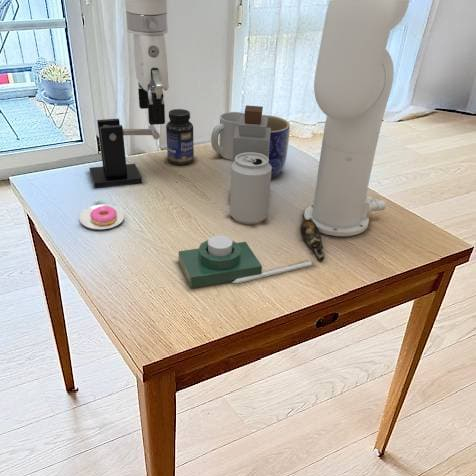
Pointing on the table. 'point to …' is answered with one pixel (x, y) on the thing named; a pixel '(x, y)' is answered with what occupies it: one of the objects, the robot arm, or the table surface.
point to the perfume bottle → (252, 133)
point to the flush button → (220, 246)
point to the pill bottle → (179, 137)
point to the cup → (225, 134)
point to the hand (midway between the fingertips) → (151, 115)
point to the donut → (101, 216)
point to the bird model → (312, 237)
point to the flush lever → (140, 131)
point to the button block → (218, 265)
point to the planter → (278, 142)
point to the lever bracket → (113, 158)
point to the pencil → (273, 272)
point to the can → (250, 187)
